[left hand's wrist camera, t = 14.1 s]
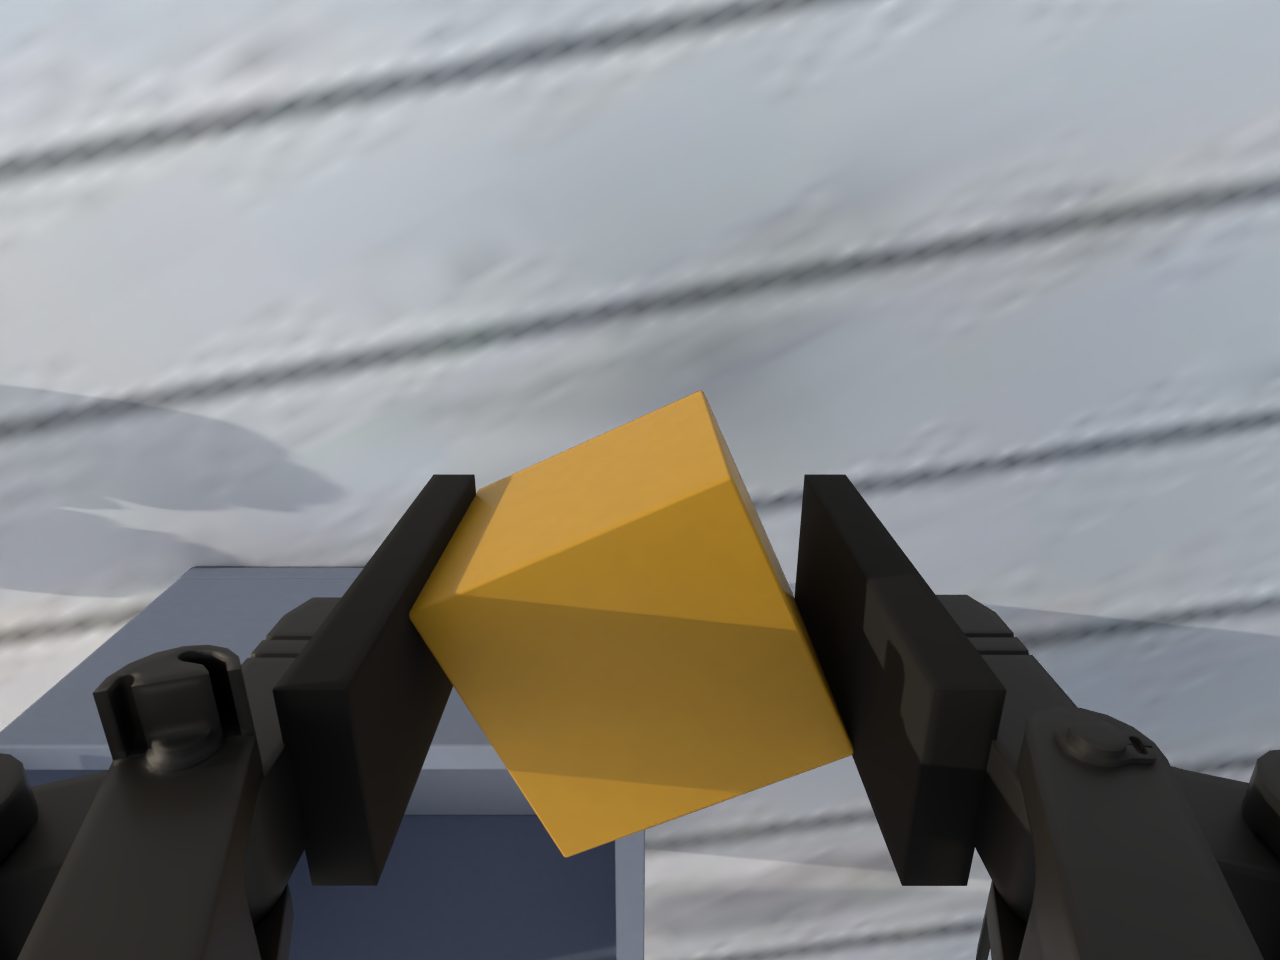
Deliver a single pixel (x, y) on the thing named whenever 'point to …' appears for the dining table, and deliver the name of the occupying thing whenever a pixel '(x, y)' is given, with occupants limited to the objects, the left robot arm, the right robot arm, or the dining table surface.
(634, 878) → the chest
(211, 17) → the dining table surface
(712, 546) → the block
